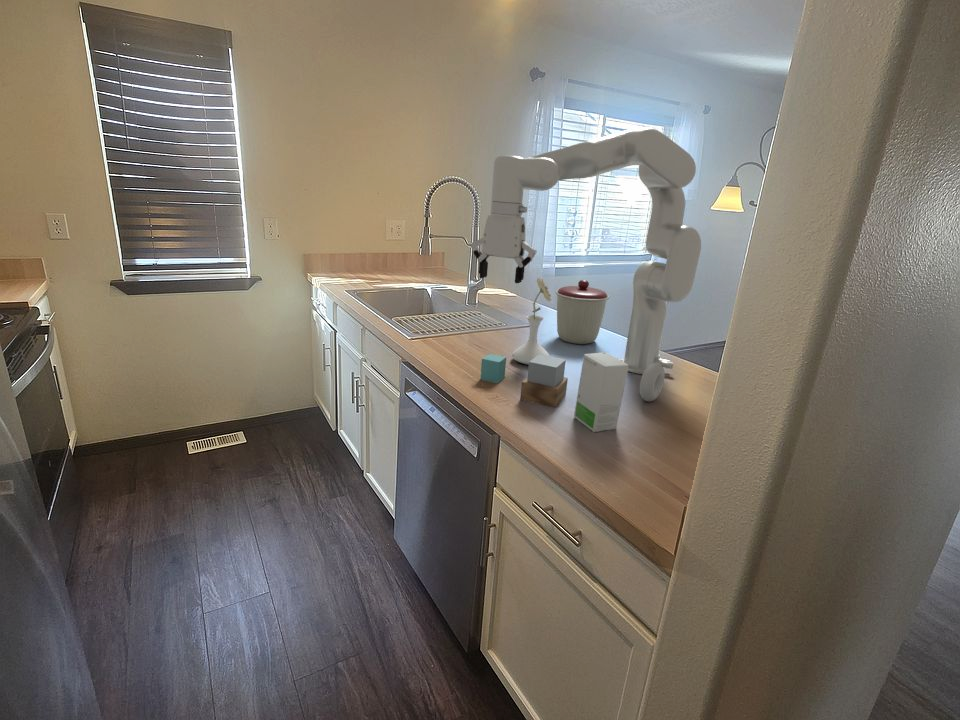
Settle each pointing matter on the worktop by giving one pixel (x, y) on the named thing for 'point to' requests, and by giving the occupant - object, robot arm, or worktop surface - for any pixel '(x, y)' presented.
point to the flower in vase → (533, 332)
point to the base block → (543, 393)
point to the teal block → (493, 368)
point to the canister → (580, 312)
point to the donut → (652, 382)
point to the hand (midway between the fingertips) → (500, 279)
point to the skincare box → (600, 391)
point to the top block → (546, 370)
